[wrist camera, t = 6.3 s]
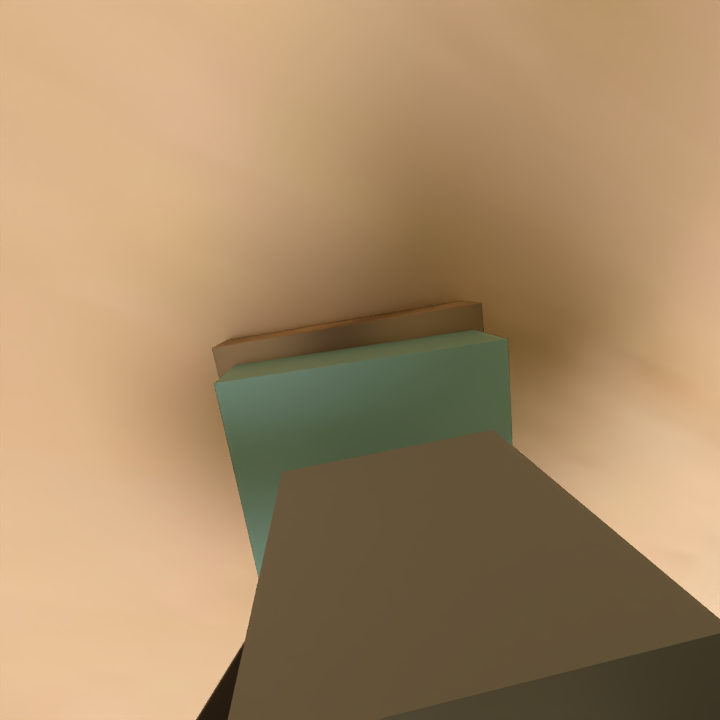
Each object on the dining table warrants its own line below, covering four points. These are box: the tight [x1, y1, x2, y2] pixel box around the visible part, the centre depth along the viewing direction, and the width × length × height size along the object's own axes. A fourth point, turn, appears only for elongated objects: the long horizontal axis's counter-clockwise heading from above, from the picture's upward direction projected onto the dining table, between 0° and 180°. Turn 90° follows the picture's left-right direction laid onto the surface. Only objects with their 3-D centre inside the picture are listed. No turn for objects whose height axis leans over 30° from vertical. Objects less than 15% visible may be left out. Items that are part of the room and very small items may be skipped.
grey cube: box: [228, 430, 720, 720], centre depth 6 cm, size 5×5×5 cm
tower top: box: [214, 330, 512, 578], centre depth 13 cm, size 9×9×2 cm
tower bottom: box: [212, 301, 484, 379], centre depth 15 cm, size 10×10×2 cm
